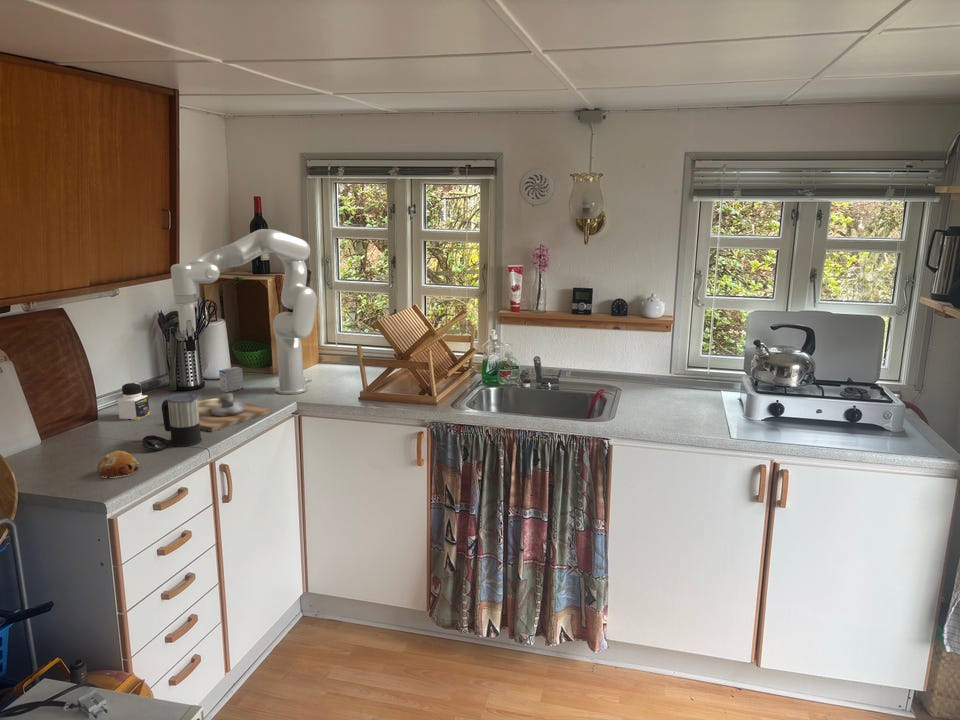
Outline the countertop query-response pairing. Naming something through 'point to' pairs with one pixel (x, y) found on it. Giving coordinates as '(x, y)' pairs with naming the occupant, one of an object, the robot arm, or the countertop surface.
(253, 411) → the board
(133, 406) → the medicine bottle
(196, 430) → the milk frother
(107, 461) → the bread roll
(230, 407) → the grey disc with handle
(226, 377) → the medicine box
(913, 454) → the countertop surface
